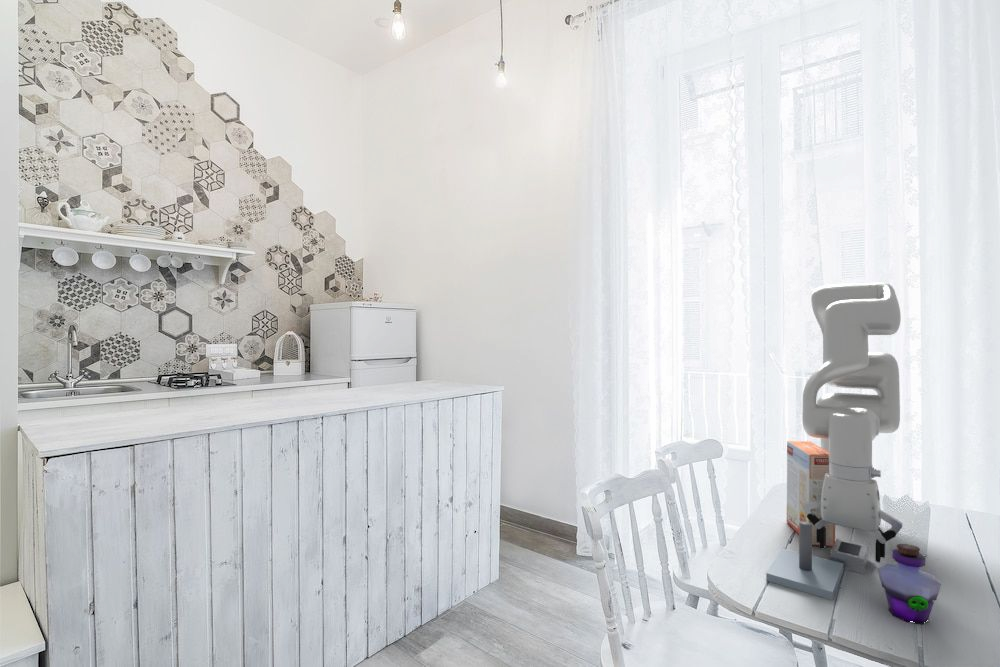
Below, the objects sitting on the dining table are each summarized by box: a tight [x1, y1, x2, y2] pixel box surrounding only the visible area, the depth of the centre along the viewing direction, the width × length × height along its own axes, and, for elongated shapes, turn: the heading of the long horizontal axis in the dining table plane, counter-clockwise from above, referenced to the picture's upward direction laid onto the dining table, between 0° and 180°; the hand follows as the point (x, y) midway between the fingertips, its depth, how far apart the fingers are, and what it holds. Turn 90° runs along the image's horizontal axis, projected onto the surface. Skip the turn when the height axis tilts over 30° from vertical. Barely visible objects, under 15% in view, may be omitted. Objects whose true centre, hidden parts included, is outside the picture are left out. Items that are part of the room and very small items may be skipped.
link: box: [830, 538, 869, 575], centre depth 106 cm, size 8×6×3 cm
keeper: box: [765, 522, 844, 601], centre depth 101 cm, size 14×11×10 cm
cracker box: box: [786, 440, 836, 548], centre depth 120 cm, size 14×6×21 cm, turn 168°
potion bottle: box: [877, 543, 942, 625], centre depth 87 cm, size 9×9×12 cm
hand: (849, 553), depth 106 cm, fingers open, 9 cm apart
